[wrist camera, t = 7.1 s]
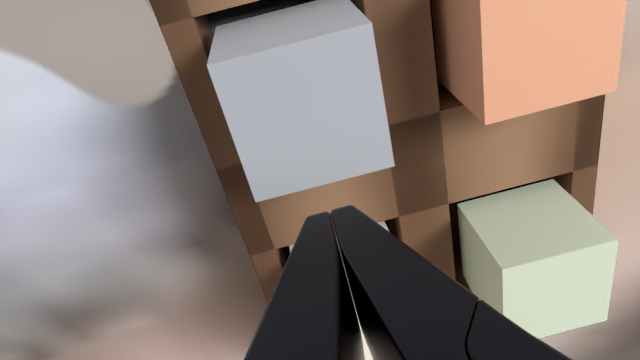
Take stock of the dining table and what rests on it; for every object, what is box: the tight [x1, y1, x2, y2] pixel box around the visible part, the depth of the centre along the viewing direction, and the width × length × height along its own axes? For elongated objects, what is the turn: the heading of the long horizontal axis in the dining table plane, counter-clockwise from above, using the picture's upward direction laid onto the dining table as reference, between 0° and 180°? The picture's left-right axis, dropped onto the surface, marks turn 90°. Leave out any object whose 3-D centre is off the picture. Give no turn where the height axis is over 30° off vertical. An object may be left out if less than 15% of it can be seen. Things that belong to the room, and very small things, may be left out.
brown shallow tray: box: [149, 0, 605, 303], centre depth 19 cm, size 14×18×3 cm
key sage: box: [457, 179, 619, 338], centre depth 19 cm, size 4×4×4 cm
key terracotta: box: [431, 0, 627, 125], centre depth 15 cm, size 4×4×4 cm
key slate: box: [207, 0, 395, 202], centre depth 14 cm, size 4×4×4 cm
